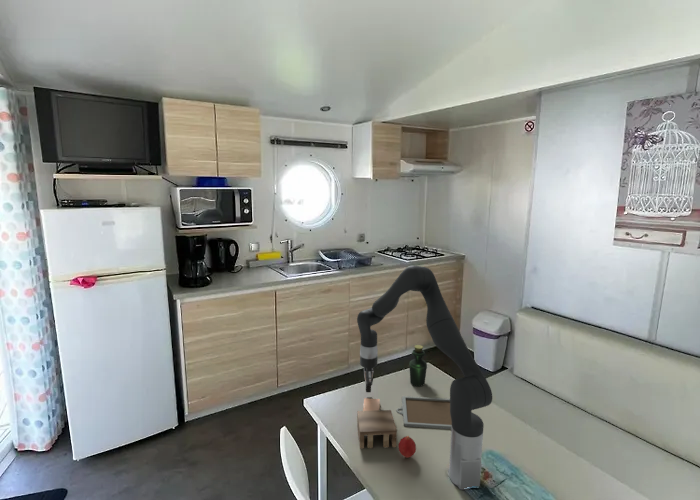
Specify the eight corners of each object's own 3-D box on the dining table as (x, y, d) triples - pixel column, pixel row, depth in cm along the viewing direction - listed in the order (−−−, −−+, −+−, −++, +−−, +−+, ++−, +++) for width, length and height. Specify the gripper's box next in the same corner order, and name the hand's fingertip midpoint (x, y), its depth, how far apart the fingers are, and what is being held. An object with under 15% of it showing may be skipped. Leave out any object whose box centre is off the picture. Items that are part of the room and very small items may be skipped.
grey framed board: (477, 428, 137) (396, 423, 140) (477, 432, 138) (396, 427, 141) (466, 399, 156) (395, 395, 159) (466, 402, 156) (395, 398, 159)
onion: (394, 456, 124) (395, 434, 123) (406, 448, 128) (406, 427, 127) (407, 466, 120) (408, 443, 119) (419, 457, 124) (419, 436, 122)
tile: (379, 423, 142) (379, 417, 142) (362, 422, 143) (362, 416, 143) (379, 404, 155) (379, 399, 155) (364, 403, 156) (364, 398, 155)
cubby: (396, 447, 129) (396, 430, 128) (359, 448, 128) (360, 431, 127) (390, 425, 140) (391, 410, 139) (357, 426, 140) (357, 411, 139)
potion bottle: (415, 377, 177) (416, 341, 174) (429, 383, 171) (431, 346, 168) (405, 383, 171) (406, 346, 168) (420, 389, 165) (421, 352, 163)
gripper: (379, 361, 151) (378, 399, 154) (375, 347, 164) (374, 383, 167) (361, 361, 151) (361, 400, 154) (358, 347, 164) (358, 383, 167)
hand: (368, 391), depth 160 cm, fingers closed
